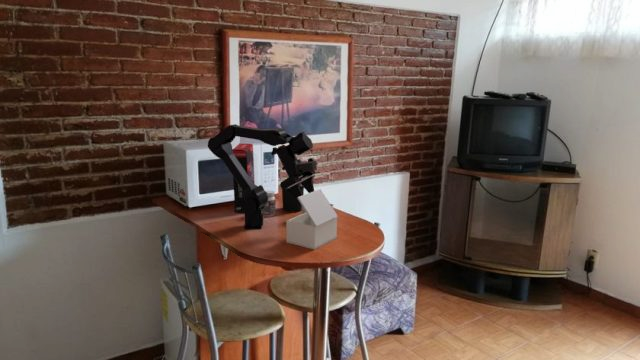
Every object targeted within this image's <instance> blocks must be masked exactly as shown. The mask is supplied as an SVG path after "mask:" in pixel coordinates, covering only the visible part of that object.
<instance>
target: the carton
mask: <svg viewBox="0 0 640 360" xmlns="http://www.w3.org/2000/svg"><path fill="white" fill-rule="evenodd" d="M285 223H286V225H285V227H286V229H285V230H286V233H285V234H286V236H285V237H286V240H285V241H286V243H287V244H290V245H293V246H294V245H296V246H298V247H299V246H300V247H303V248H307V249H311V250H314V251H315V250H317V249H319V248H321V247H323V246H325V245H326V244H328V243H330V242H332V241H334V240H336V239H337V237H338V236H337V235H338V231H337V230H338V216H337V217H336V218H333V219H331V220H329V221H327V222H325V223H323V224H321V225H318V226H316V227H315V225H314V224H313V222H312V220H311V219H310V217H309V216H308V214H307V213H304V214H302V213H301V214H299V215H296V216H294V217H292V218H290V219H288V220H286V222H285Z"/></svg>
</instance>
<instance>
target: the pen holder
mask: <svg viewBox="0 0 640 360" xmlns="http://www.w3.org/2000/svg"><path fill="white" fill-rule="evenodd" d="M286 189H288V188H286ZM286 189H283V190H282V189H281V197H282V198H281V200H282V202H281V203H282V210H283V211H284V212H287V213H298V212H302V205H301V203H300V201H299V200H298V199H297V198H295V197H294V196H293V195H291V194H290V193H288V192H287V191H285V190H286ZM300 189H301V191H302V194H303V195H305V193H304V192H305V188H304V187H303V186H302V185H300Z"/></svg>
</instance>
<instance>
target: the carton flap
mask: <svg viewBox="0 0 640 360" xmlns="http://www.w3.org/2000/svg"><path fill="white" fill-rule="evenodd" d="M298 200H299V201H300V203H301V205H302V206H303V208H304V209H305V211H306V213H307V214H308V216H309V217H310V219H311V220H312V222H313V224H314V225H315V227H316V226H318V225H321V224H323V223H325V222H327V221H329V220H331V219H333V218H336V217H337V218H338V214H337V212H336V211H335V209H334V208H333V206H332V204H331V203H330V201H329V200H328V198H327V197H326V196H325V194H324V193H323V190H322V189H321V188H320V189H316V190H314V191H313V192H311V193H308V192H307V193H306V194H305V193H304V195H302V196H299V197H298Z"/></svg>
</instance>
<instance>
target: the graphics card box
mask: <svg viewBox="0 0 640 360" xmlns="http://www.w3.org/2000/svg"><path fill="white" fill-rule="evenodd" d="M232 149H233V154H234V155H235V157H236V158H237V160H238V161H239V163H240V164H241V166H242V167H243V169H244V170H245V172H246V173H247V175H248V176H249V177H250V179H251V180H252V182H253V183H254V184H255V183H256V182H255V164H254V163H255V162H254V161H255V160H254V145H253V143H238V144H237V145H236V146H235V147H233V148H232ZM232 182H233V183H232V184H233V198H234V199H233V200H234V213H238V214H239V213H240V214H241V213H242V210H241V207H242V206H243V205H244V204H245V203H246V201H245V199H244V193H243V190H242V188H241V187H240V185H239V184H238V183H237V181H236V180H235V178H234V177H233V176H232ZM255 185H256V184H255ZM242 214H243V213H242Z"/></svg>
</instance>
